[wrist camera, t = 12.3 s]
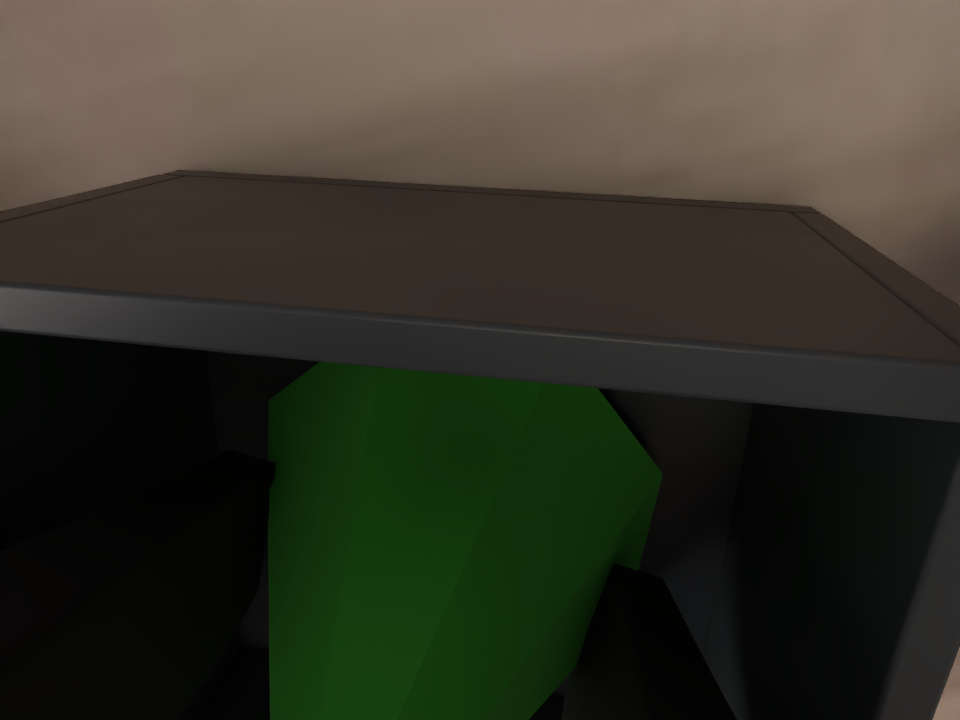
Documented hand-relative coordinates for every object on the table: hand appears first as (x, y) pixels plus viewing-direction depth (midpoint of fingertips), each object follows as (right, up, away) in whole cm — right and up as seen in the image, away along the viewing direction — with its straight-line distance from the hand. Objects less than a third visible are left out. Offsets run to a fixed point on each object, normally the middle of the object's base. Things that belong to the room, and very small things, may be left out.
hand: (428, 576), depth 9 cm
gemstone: (0, +1, +2) cm, 2 cm away
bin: (0, +1, +3) cm, 3 cm away
